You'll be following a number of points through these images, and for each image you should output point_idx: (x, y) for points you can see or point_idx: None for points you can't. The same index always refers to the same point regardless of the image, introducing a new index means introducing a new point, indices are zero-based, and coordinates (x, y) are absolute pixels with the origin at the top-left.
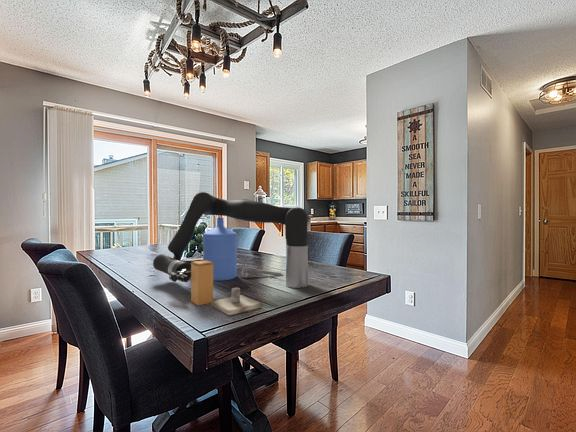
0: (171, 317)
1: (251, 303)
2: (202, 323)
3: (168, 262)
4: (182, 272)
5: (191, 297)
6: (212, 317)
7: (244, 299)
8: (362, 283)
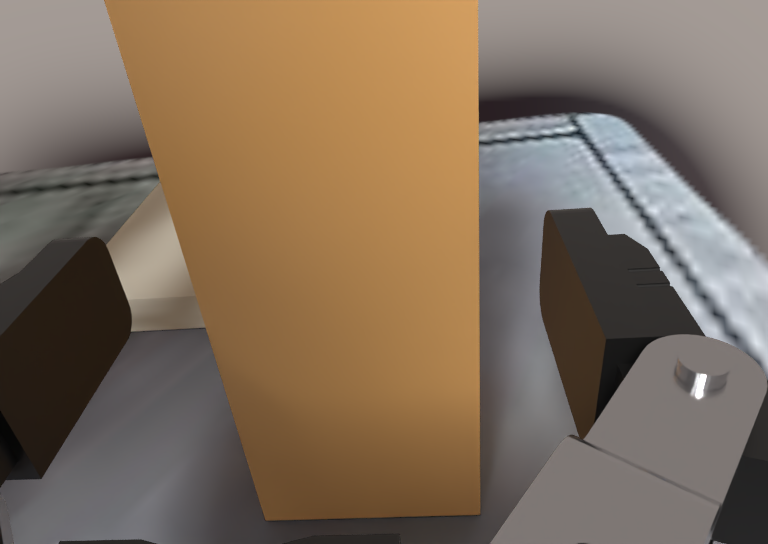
0: (728, 264)
1: None
2: (547, 171)
3: None
4: (621, 459)
5: (478, 466)
6: None
7: (159, 231)
8: None
